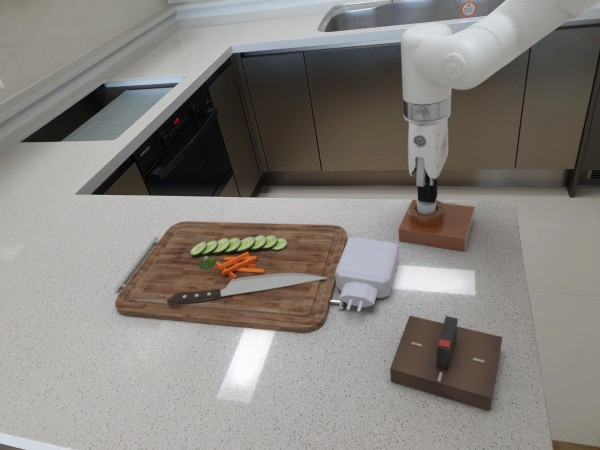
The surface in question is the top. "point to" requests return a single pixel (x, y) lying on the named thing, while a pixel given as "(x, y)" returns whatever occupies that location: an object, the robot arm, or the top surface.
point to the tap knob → (447, 342)
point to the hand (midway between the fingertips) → (427, 199)
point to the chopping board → (237, 275)
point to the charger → (366, 271)
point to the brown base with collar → (438, 226)
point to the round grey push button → (426, 207)
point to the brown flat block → (463, 368)
